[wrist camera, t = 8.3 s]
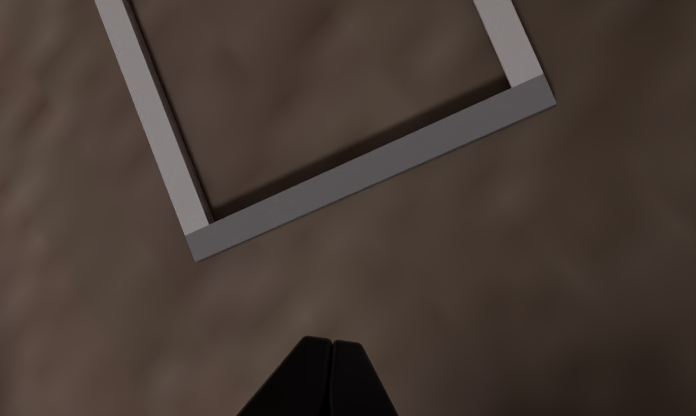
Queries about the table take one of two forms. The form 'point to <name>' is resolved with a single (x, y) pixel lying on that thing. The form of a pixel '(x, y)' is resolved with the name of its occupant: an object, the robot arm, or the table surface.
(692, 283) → the table surface
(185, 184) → the steel handle
